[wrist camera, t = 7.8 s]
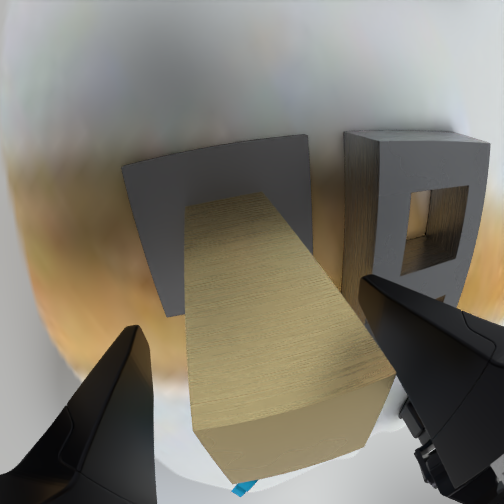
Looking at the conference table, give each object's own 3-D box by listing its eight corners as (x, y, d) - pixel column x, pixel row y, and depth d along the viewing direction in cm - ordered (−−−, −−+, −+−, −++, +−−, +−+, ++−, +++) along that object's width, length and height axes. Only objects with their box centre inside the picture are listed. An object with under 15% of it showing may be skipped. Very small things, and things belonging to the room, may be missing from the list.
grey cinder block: (453, 132, 14) (490, 143, 11) (417, 331, 21) (437, 355, 19) (343, 131, 13) (379, 141, 10) (334, 362, 20) (349, 392, 18)
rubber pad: (304, 134, 12) (307, 135, 12) (310, 282, 16) (313, 286, 16) (123, 166, 11) (121, 167, 11) (167, 312, 15) (166, 317, 15)
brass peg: (262, 191, 13) (396, 372, 4) (269, 258, 15) (363, 447, 6) (185, 206, 12) (193, 430, 4) (200, 272, 14) (232, 484, 6)
